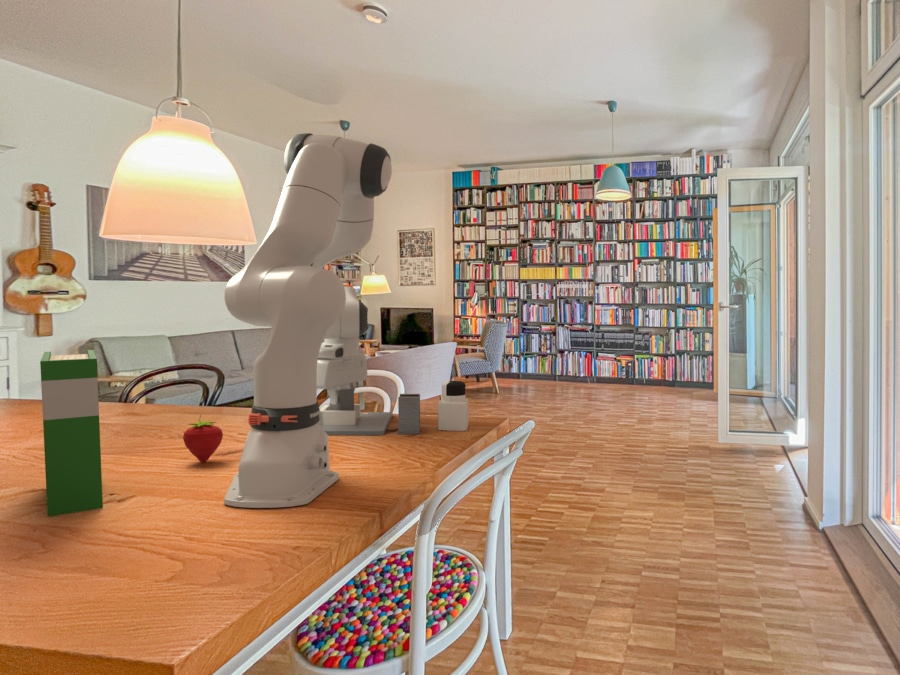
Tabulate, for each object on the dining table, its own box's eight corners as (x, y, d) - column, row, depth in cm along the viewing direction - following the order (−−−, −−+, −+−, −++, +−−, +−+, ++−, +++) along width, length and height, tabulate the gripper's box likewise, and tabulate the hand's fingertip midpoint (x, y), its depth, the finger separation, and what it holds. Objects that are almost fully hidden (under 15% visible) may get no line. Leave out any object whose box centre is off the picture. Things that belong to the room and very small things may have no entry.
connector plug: (354, 415, 161) (353, 381, 161) (340, 417, 158) (339, 382, 157) (344, 413, 164) (343, 379, 164) (330, 415, 161) (329, 381, 160)
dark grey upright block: (418, 434, 150) (418, 397, 150) (398, 434, 150) (398, 397, 150) (420, 428, 156) (419, 393, 156) (400, 428, 156) (400, 393, 156)
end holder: (383, 435, 149) (383, 416, 149) (284, 435, 149) (284, 416, 149) (392, 415, 173) (392, 399, 173) (306, 415, 173) (306, 399, 173)
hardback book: (50, 486, 110) (44, 351, 108) (98, 479, 114) (93, 349, 112) (47, 516, 95) (40, 361, 93) (102, 508, 99) (96, 358, 97)
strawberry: (223, 464, 124) (222, 415, 123) (182, 467, 121) (180, 417, 121) (223, 457, 129) (222, 409, 129) (184, 460, 127) (183, 412, 126)
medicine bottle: (468, 425, 161) (468, 379, 160) (466, 431, 154) (466, 383, 153) (441, 424, 161) (441, 379, 160) (438, 430, 154) (438, 383, 153)
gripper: (353, 345, 171) (353, 395, 172) (307, 351, 152) (308, 407, 153) (372, 346, 168) (373, 396, 169) (329, 352, 149) (329, 409, 150)
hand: (342, 401), depth 161 cm, fingers closed on connector plug, 5 cm apart
